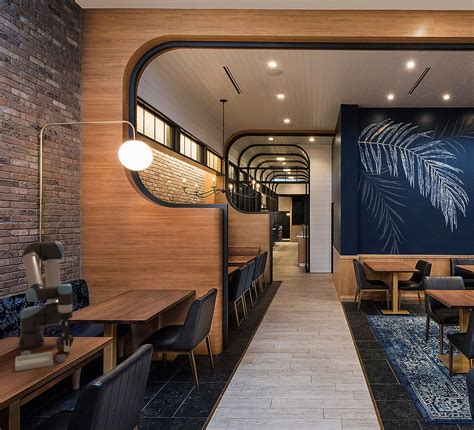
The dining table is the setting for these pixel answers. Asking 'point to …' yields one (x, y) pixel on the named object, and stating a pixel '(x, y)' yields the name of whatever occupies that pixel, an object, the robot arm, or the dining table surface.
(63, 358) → the squat grey cube
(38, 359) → the dish
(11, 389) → the dining table surface
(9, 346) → the dining table surface
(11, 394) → the dining table surface
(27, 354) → the matte grey cube
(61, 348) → the rock
